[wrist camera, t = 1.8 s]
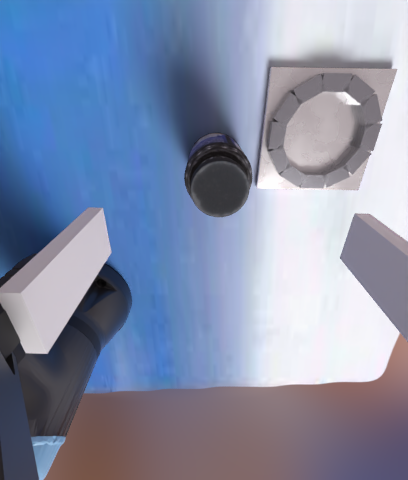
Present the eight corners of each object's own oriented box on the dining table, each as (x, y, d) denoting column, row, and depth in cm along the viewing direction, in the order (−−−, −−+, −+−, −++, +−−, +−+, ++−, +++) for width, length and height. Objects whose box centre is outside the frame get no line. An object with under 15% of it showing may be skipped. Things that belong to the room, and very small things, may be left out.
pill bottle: (183, 177, 31) (172, 213, 21) (197, 124, 28) (192, 138, 18) (231, 191, 31) (242, 233, 22) (250, 141, 29) (271, 164, 19)
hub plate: (256, 186, 31) (258, 191, 29) (269, 67, 25) (274, 65, 23) (354, 188, 31) (363, 193, 29) (392, 69, 25) (405, 67, 23)
